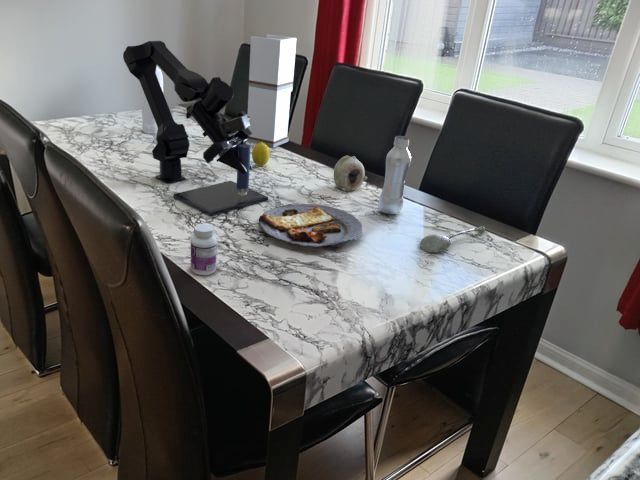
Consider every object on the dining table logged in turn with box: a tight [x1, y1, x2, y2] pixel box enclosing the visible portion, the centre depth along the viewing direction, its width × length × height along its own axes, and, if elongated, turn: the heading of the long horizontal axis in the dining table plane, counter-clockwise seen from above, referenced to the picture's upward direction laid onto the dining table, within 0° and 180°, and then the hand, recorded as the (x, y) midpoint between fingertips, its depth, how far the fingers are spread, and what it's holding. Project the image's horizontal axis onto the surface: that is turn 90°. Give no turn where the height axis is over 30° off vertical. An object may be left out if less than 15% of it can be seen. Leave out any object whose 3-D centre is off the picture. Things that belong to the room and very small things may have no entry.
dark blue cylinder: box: [236, 143, 252, 195], centre depth 150 cm, size 3×3×13 cm
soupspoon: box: [419, 225, 486, 254], centre depth 139 cm, size 22×3×7 cm
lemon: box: [251, 142, 271, 168], centre depth 180 cm, size 6×6×8 cm
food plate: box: [258, 202, 363, 248], centre depth 139 cm, size 25×23×4 cm
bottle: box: [140, 66, 164, 135], centre depth 205 cm, size 8×8×30 cm
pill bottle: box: [190, 223, 218, 276], centre depth 117 cm, size 5×5×10 cm
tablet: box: [173, 180, 269, 217], centre depth 156 cm, size 16×20×1 cm
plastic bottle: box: [377, 135, 412, 215], centre depth 149 cm, size 6×7×20 cm
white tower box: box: [246, 34, 298, 149], centre depth 201 cm, size 11×11×35 cm
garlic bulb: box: [333, 155, 368, 192], centre depth 168 cm, size 9×8×10 cm
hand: (248, 170), depth 150 cm, fingers closed on dark blue cylinder, 3 cm apart
